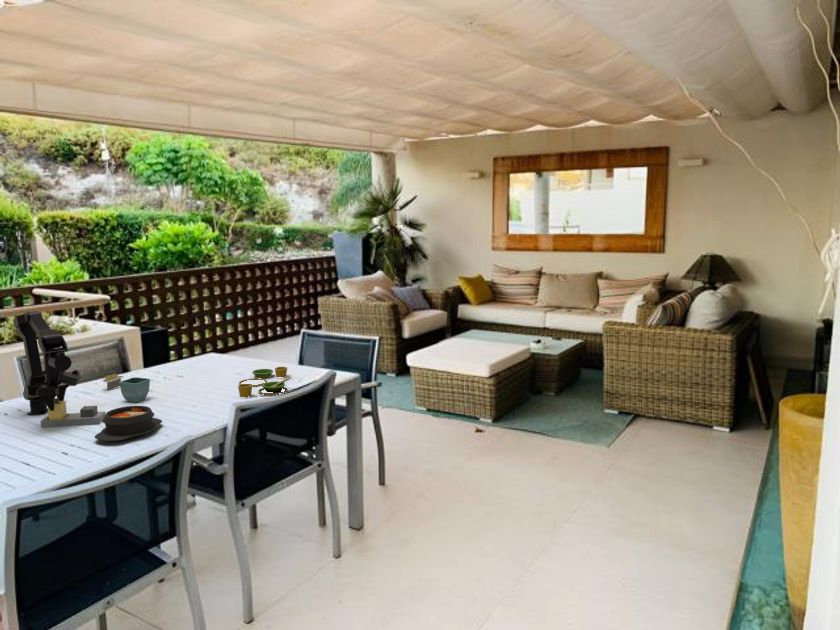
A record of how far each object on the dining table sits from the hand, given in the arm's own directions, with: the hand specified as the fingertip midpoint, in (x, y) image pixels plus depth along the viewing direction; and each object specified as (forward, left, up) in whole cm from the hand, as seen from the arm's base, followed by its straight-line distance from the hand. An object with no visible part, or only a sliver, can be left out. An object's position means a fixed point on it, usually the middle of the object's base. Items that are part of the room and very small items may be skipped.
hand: (57, 407), depth 234 cm
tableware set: (-40, +74, -7) cm, 85 cm away
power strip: (0, +5, -6) cm, 8 cm away
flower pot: (-26, +21, -7) cm, 34 cm away
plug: (0, 0, -6) cm, 7 cm away
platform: (-49, +6, -7) cm, 50 cm away
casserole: (+17, +29, -7) cm, 35 cm away
